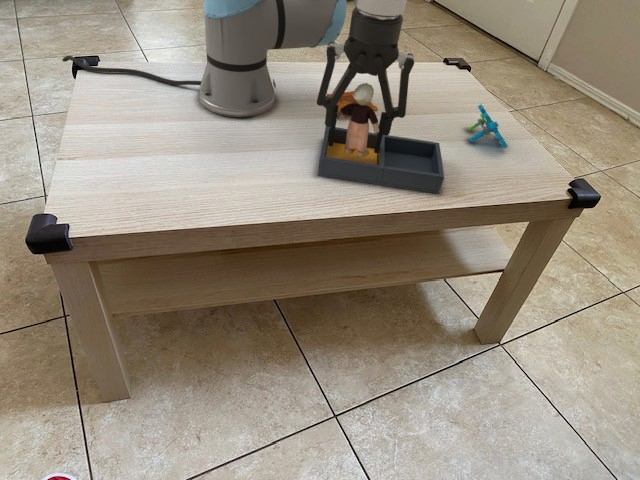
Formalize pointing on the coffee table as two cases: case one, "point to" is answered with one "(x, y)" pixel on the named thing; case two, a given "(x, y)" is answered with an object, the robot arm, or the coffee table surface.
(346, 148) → the grandmother figurine
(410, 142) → the divided tray
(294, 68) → the coffee table surface
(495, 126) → the blue green toy windmill
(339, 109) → the pottery fragment
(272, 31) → the robot arm
